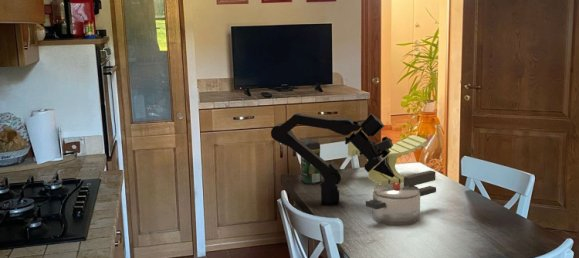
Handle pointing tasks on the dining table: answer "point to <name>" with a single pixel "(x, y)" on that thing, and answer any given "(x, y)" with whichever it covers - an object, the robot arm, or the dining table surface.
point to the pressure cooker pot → (398, 208)
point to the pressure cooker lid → (405, 186)
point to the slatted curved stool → (392, 158)
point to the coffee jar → (307, 170)
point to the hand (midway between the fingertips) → (393, 176)
